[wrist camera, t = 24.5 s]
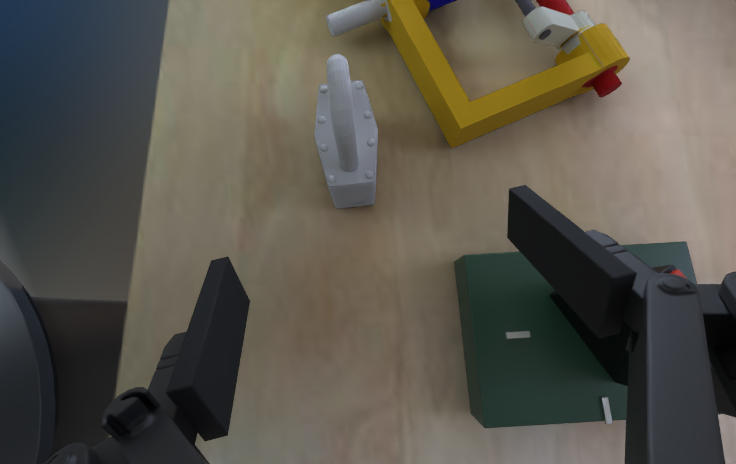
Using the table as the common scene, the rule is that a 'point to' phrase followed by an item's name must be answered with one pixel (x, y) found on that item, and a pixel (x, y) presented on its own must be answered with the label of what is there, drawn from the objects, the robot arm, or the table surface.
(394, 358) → the table surface
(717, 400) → the black bar red tab
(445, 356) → the table surface
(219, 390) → the robot arm
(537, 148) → the table surface
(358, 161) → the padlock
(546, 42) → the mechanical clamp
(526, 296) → the green rectangular block
